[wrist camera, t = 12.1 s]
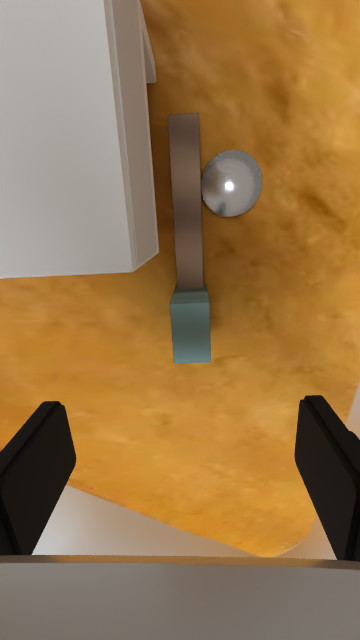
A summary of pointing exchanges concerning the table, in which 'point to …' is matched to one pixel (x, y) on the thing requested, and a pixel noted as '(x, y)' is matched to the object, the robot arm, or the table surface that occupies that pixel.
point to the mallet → (188, 244)
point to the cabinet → (75, 138)
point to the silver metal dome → (231, 183)
